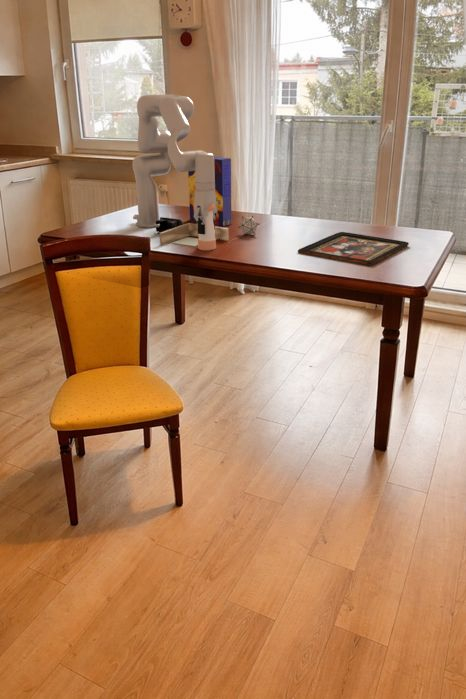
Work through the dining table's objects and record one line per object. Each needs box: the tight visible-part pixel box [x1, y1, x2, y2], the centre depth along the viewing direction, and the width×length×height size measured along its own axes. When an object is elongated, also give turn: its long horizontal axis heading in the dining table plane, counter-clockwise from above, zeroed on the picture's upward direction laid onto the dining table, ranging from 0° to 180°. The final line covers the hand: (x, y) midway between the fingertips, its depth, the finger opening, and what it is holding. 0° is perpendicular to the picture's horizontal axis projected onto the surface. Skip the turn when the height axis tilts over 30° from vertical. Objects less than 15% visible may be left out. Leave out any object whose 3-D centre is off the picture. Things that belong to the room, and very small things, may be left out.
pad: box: [172, 236, 199, 247], centre depth 248 cm, size 11×11×1 cm
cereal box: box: [187, 156, 233, 227], centre depth 276 cm, size 22×6×30 cm, turn 48°
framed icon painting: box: [297, 231, 410, 267], centre depth 235 cm, size 38×35×3 cm
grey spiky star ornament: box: [237, 215, 260, 236], centre depth 258 cm, size 9×8×10 cm
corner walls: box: [159, 222, 230, 246], centre depth 247 cm, size 21×21×5 cm
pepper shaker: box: [197, 204, 217, 251], centre depth 235 cm, size 7×7×19 cm
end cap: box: [155, 216, 184, 236], centre depth 261 cm, size 10×7×7 cm
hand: (206, 231), depth 236 cm, fingers closed on pepper shaker, 6 cm apart
